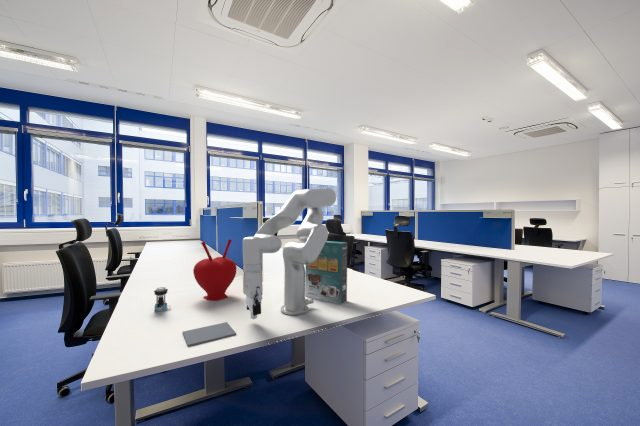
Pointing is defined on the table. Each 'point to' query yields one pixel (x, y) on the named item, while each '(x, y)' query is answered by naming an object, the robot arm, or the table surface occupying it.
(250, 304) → the lightbulb
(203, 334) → the desk mat
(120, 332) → the table surface
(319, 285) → the cake mix box
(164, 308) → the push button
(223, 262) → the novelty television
